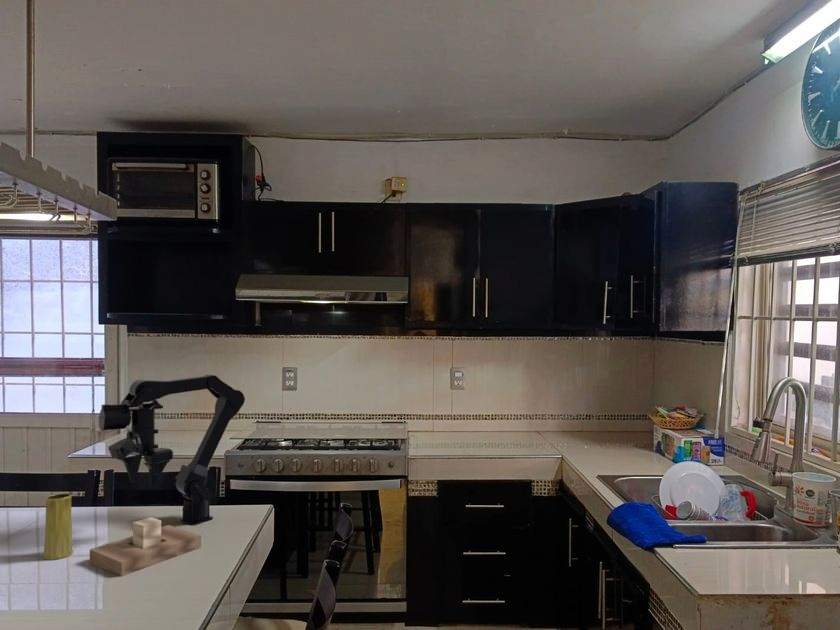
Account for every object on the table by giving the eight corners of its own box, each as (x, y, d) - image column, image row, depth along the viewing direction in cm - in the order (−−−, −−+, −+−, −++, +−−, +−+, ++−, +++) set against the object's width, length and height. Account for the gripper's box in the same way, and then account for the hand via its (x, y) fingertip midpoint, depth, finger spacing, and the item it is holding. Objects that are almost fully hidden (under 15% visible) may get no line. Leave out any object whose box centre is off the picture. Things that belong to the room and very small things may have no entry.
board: (168, 536, 149) (168, 524, 149) (200, 547, 141) (201, 535, 141) (89, 562, 132) (89, 549, 132) (121, 576, 124) (121, 562, 125)
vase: (62, 560, 134) (63, 499, 134) (37, 560, 134) (37, 499, 134) (78, 550, 140) (79, 492, 140) (53, 550, 140) (54, 492, 140)
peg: (150, 549, 140) (150, 517, 140) (160, 553, 137) (161, 520, 138) (132, 555, 136) (133, 522, 136) (143, 559, 134) (143, 525, 134)
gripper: (94, 428, 151) (93, 486, 150) (134, 434, 141) (134, 497, 140) (134, 422, 160) (133, 477, 160) (174, 427, 150) (174, 486, 150)
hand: (142, 484), depth 152 cm, fingers open, 9 cm apart
